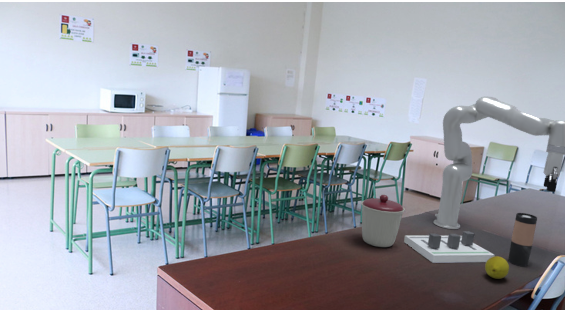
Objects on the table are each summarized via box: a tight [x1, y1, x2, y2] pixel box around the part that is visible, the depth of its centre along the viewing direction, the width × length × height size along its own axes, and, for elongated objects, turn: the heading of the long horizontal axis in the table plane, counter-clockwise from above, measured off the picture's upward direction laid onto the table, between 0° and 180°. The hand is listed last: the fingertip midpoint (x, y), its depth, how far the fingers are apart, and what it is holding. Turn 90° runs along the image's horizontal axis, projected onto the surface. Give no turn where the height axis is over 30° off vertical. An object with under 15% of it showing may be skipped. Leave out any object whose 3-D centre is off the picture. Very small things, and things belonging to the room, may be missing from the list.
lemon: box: [484, 255, 510, 280], centre depth 165 cm, size 11×8×8 cm
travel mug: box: [507, 212, 538, 267], centre depth 183 cm, size 8×8×20 cm
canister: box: [360, 194, 406, 248], centre depth 190 cm, size 18×18×21 cm
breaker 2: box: [447, 233, 462, 248], centre depth 185 cm, size 3×4×5 cm
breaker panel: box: [403, 235, 496, 264], centre depth 189 cm, size 22×28×3 cm
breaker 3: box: [461, 230, 475, 245], centre depth 190 cm, size 3×4×5 cm
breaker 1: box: [428, 233, 442, 248], centre depth 183 cm, size 3×4×5 cm
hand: (549, 189), depth 194 cm, fingers open, 9 cm apart
